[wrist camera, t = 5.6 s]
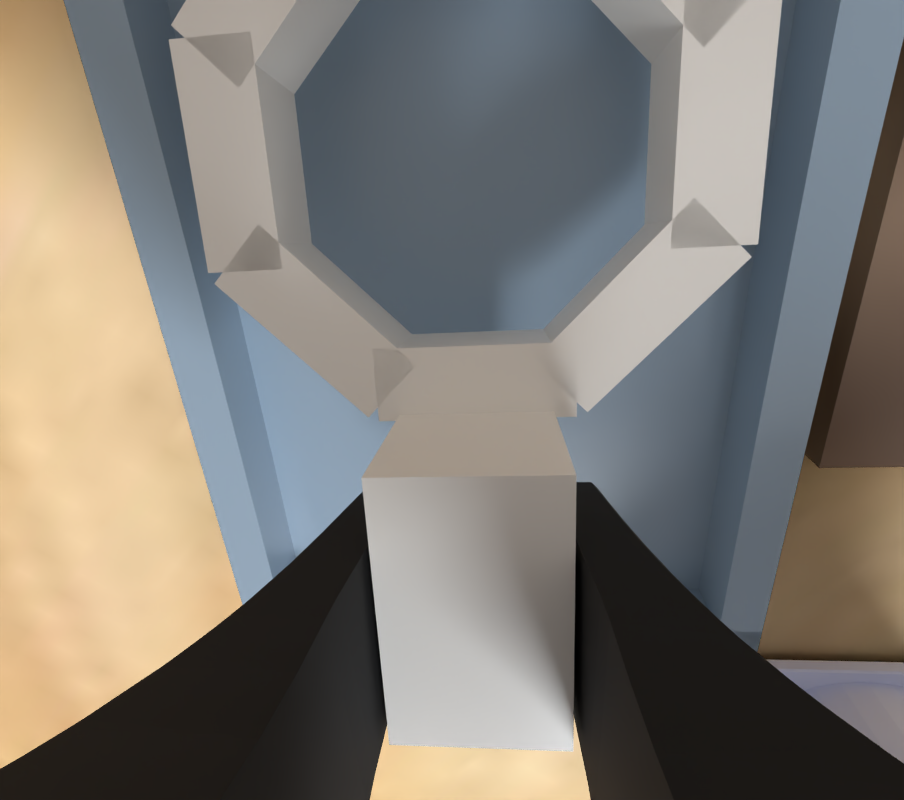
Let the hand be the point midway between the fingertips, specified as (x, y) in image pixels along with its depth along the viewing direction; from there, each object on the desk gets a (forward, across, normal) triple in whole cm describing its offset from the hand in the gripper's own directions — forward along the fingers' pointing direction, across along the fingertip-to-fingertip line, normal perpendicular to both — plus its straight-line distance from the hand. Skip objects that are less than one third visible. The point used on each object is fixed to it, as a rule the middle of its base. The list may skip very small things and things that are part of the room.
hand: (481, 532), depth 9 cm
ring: (+2, 0, -4) cm, 4 cm away
